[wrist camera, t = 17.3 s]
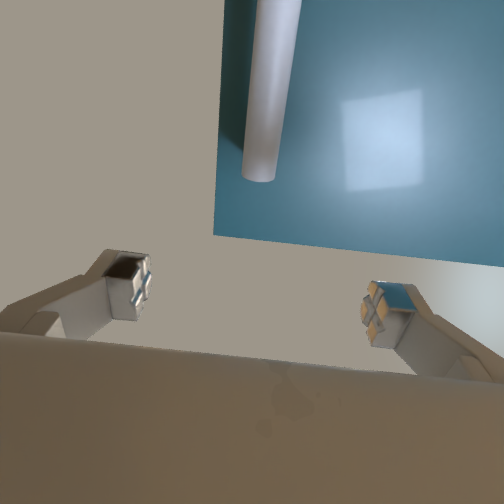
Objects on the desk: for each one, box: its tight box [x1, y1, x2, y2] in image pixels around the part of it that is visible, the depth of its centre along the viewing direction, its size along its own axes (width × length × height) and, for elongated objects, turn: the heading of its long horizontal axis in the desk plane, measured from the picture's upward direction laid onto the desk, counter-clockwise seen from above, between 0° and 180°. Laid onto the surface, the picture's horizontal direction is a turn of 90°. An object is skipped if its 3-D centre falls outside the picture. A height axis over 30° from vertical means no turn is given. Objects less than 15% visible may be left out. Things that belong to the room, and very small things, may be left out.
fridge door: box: [213, 0, 504, 267], centre depth 18 cm, size 7×26×26 cm, turn 92°
